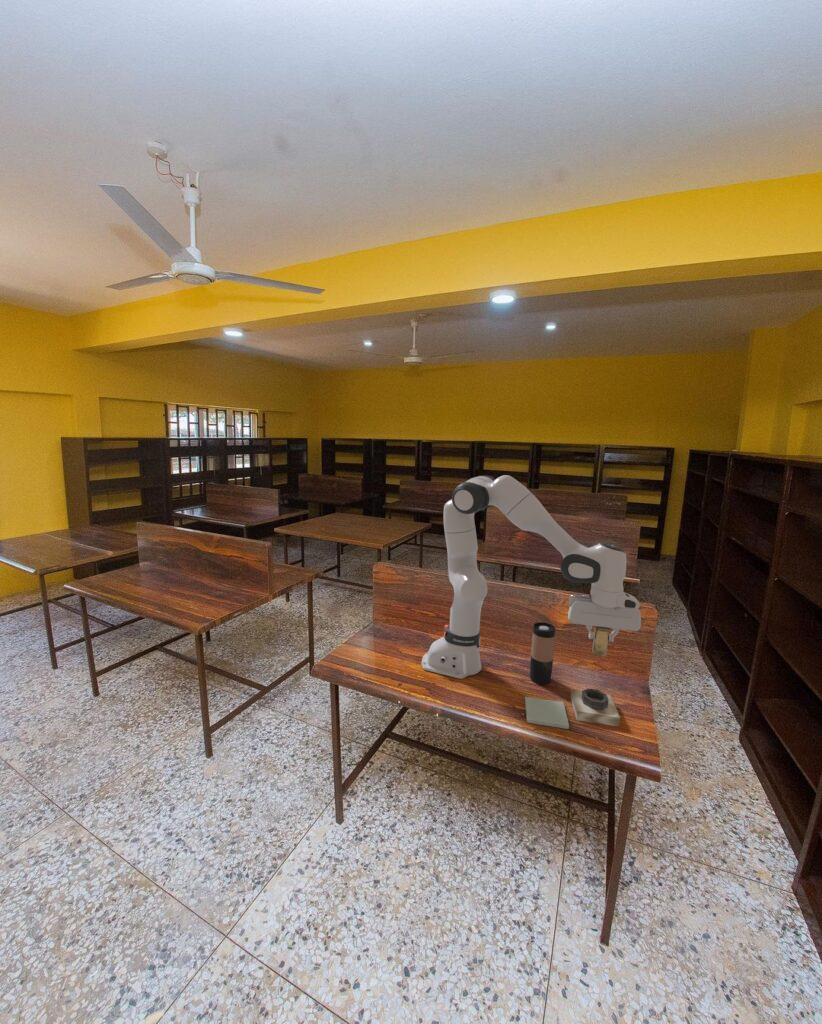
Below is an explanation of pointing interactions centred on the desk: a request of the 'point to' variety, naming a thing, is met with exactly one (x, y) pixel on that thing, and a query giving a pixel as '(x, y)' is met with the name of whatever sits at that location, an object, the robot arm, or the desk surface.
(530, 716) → the sage pad
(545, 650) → the travel mug
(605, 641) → the brass peg
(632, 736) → the desk surface
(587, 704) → the beige base with ring
